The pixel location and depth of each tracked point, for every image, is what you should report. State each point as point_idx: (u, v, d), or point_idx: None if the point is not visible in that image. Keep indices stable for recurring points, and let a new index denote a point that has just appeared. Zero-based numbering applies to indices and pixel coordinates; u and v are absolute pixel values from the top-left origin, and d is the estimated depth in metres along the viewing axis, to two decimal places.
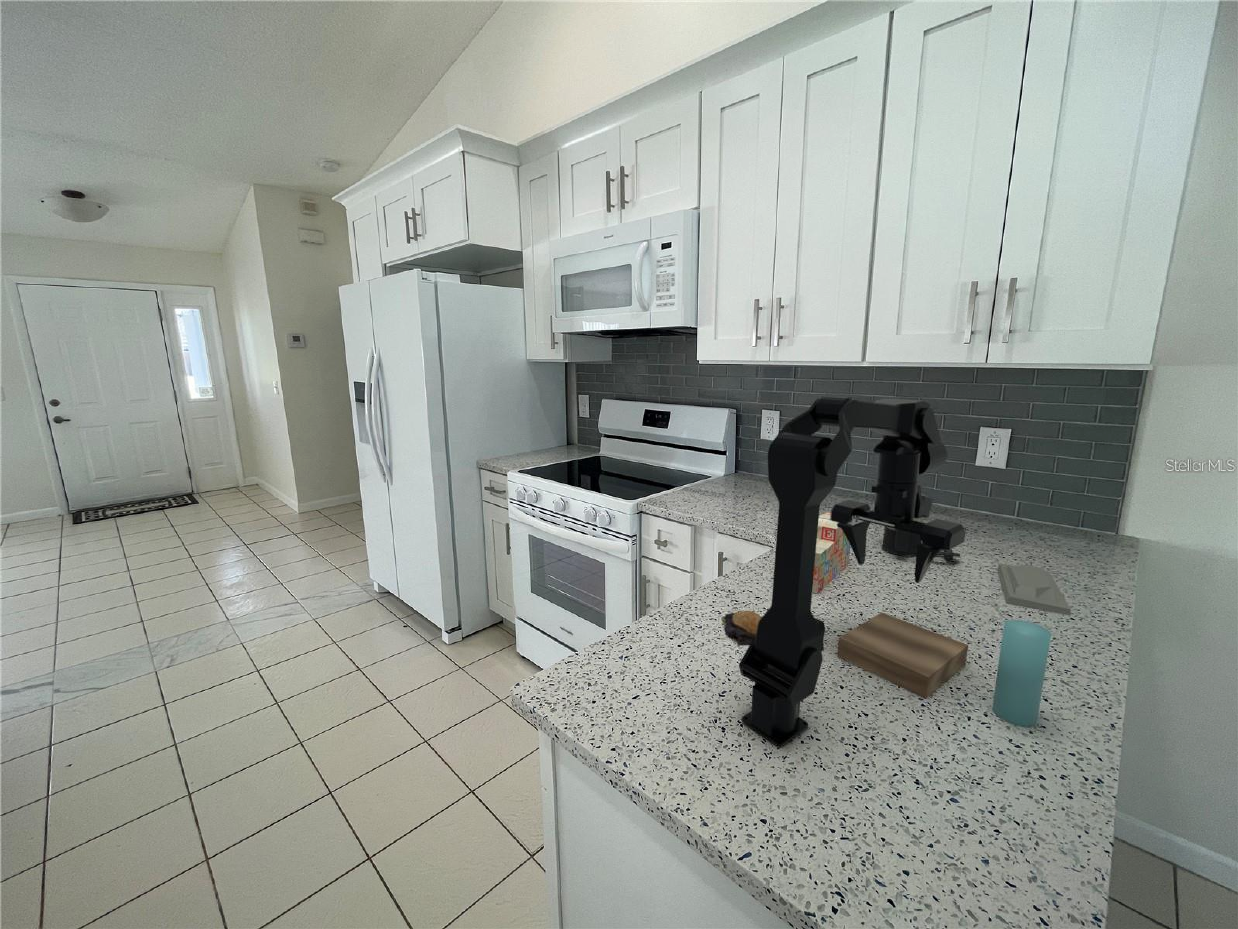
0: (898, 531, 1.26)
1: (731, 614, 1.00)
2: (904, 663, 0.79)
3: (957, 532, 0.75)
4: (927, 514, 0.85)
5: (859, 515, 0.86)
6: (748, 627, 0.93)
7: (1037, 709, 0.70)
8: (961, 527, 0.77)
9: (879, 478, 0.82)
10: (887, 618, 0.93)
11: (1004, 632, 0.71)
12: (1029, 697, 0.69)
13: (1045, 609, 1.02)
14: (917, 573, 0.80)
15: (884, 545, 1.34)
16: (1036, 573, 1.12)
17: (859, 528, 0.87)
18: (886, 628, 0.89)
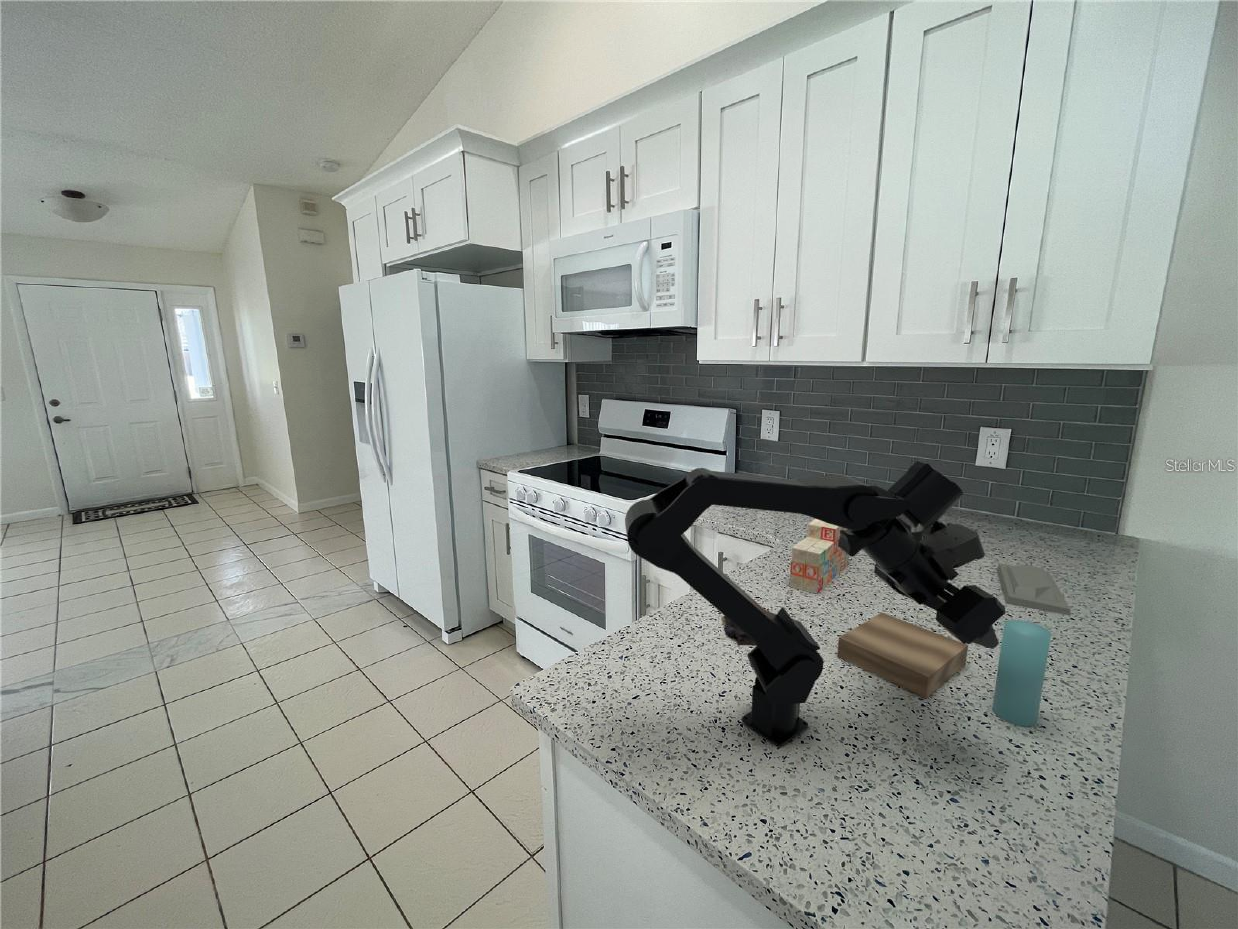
0: None
1: None
2: (904, 663, 0.79)
3: (973, 619, 0.59)
4: (976, 557, 0.65)
5: None
6: None
7: (1037, 709, 0.70)
8: (984, 604, 0.59)
9: None
10: (887, 618, 0.93)
11: (1004, 632, 0.71)
12: (1029, 697, 0.69)
13: (1045, 609, 1.02)
14: None
15: None
16: (1036, 573, 1.12)
17: None
18: (886, 628, 0.89)
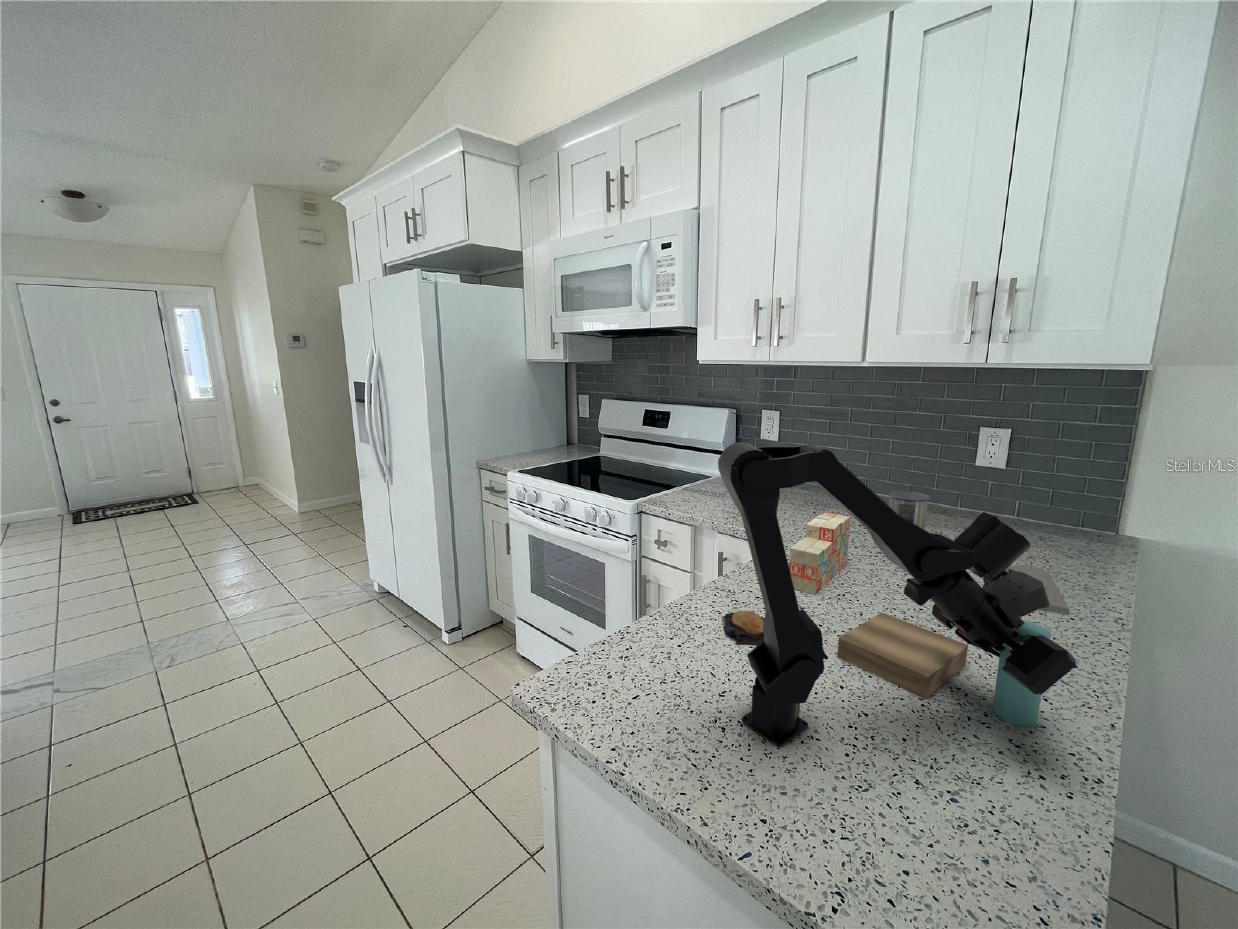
0: None
1: (731, 614, 1.00)
2: (904, 663, 0.79)
3: (1045, 671, 0.61)
4: (1041, 606, 0.67)
5: None
6: (747, 627, 0.93)
7: (1037, 709, 0.70)
8: (1056, 657, 0.61)
9: None
10: (887, 618, 0.93)
11: None
12: (1029, 697, 0.69)
13: (1043, 609, 1.02)
14: None
15: None
16: (1035, 573, 1.12)
17: None
18: (886, 628, 0.89)
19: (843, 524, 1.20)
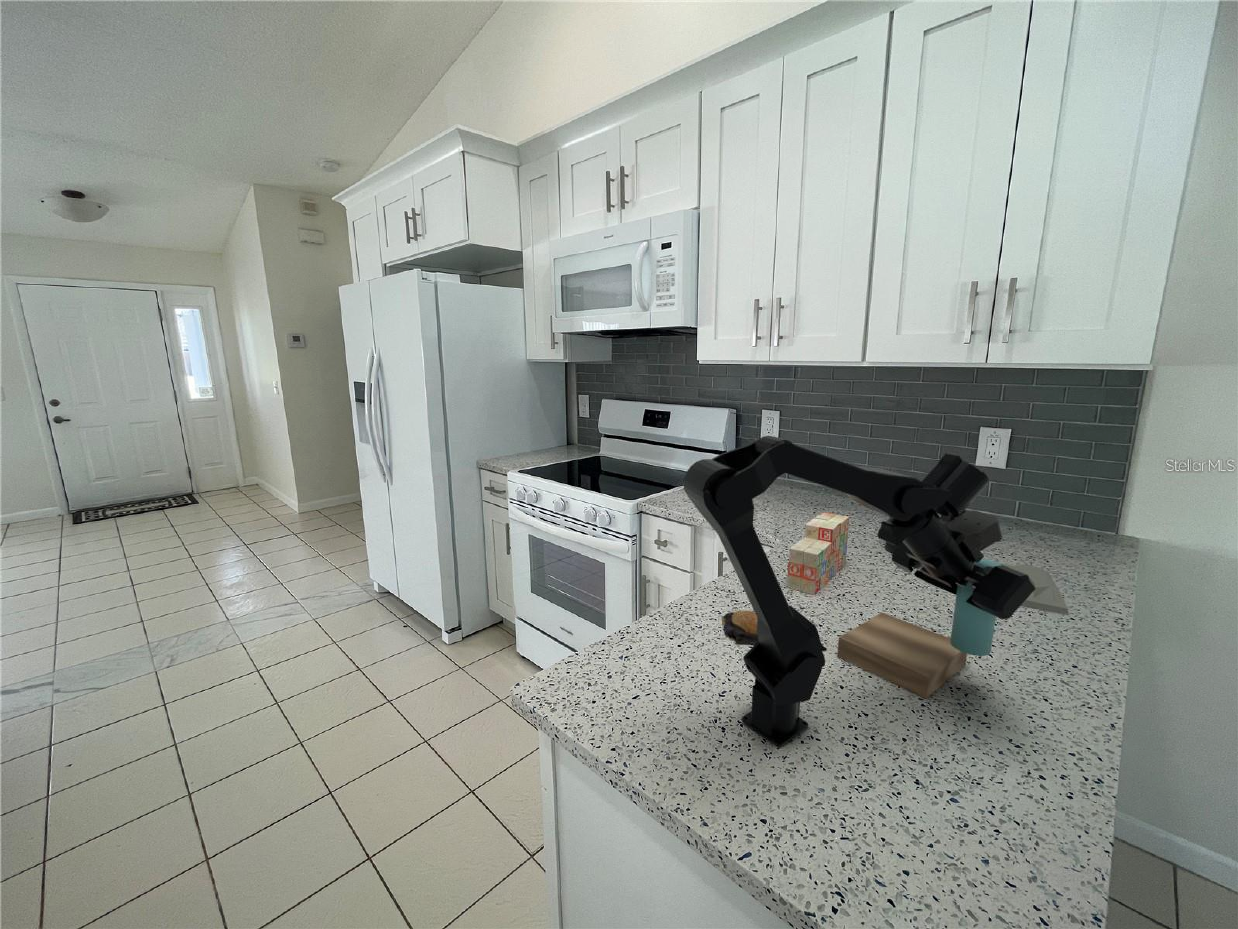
0: None
1: (731, 613, 1.00)
2: (904, 663, 0.79)
3: (1012, 596, 0.65)
4: (996, 539, 0.71)
5: None
6: (746, 627, 0.94)
7: (991, 638, 0.75)
8: (1019, 582, 0.65)
9: None
10: (887, 618, 0.93)
11: None
12: (986, 627, 0.74)
13: (1043, 609, 1.02)
14: None
15: (887, 545, 1.34)
16: (1035, 573, 1.12)
17: None
18: (886, 628, 0.89)
19: (842, 524, 1.20)
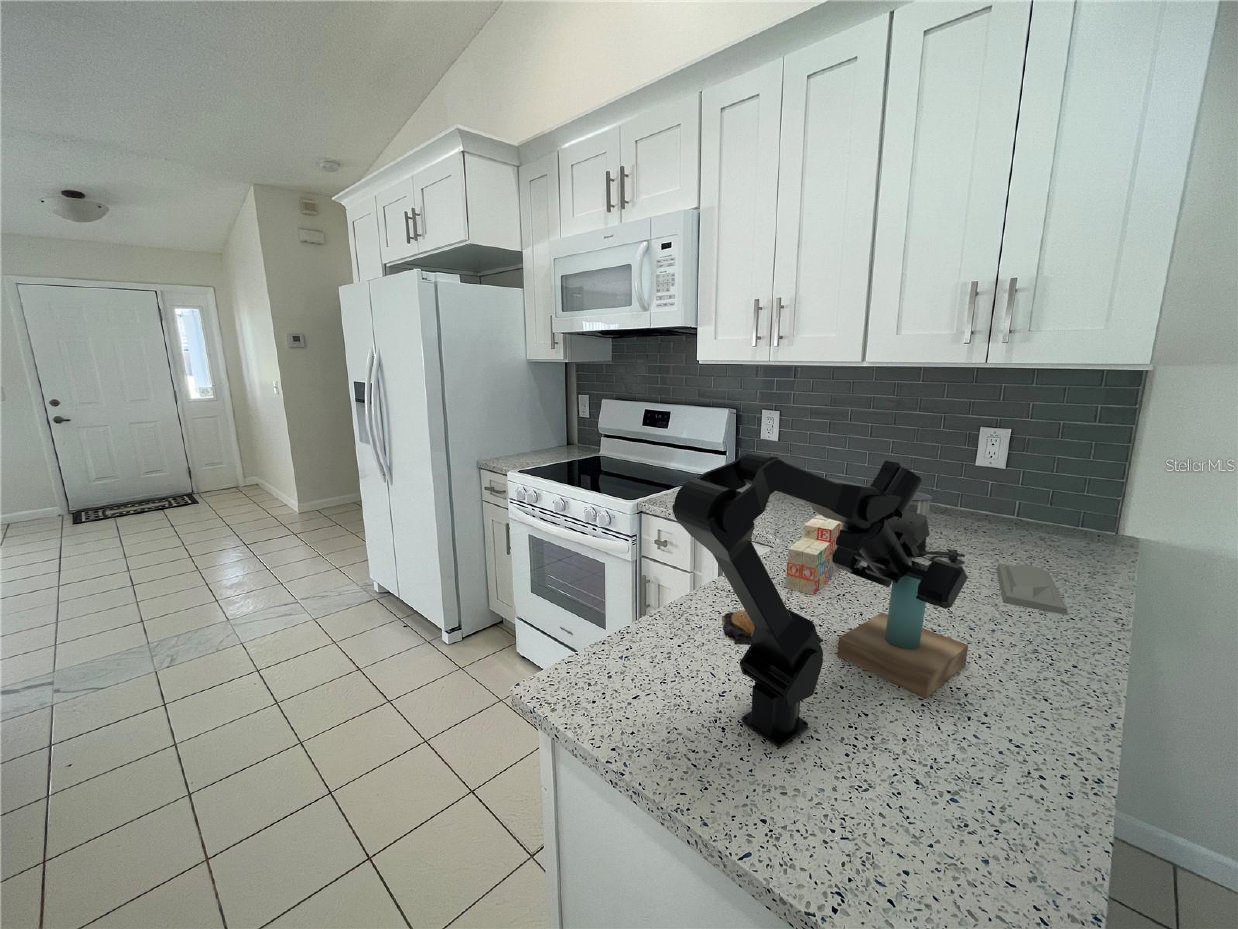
0: None
1: (731, 613, 1.00)
2: (904, 663, 0.79)
3: (953, 587, 0.72)
4: (926, 535, 0.79)
5: (863, 562, 0.83)
6: (746, 626, 0.94)
7: (921, 632, 0.83)
8: (957, 573, 0.72)
9: None
10: (887, 618, 0.93)
11: None
12: (918, 623, 0.82)
13: (1042, 608, 1.02)
14: None
15: None
16: (1035, 573, 1.13)
17: None
18: None
19: (841, 524, 1.20)
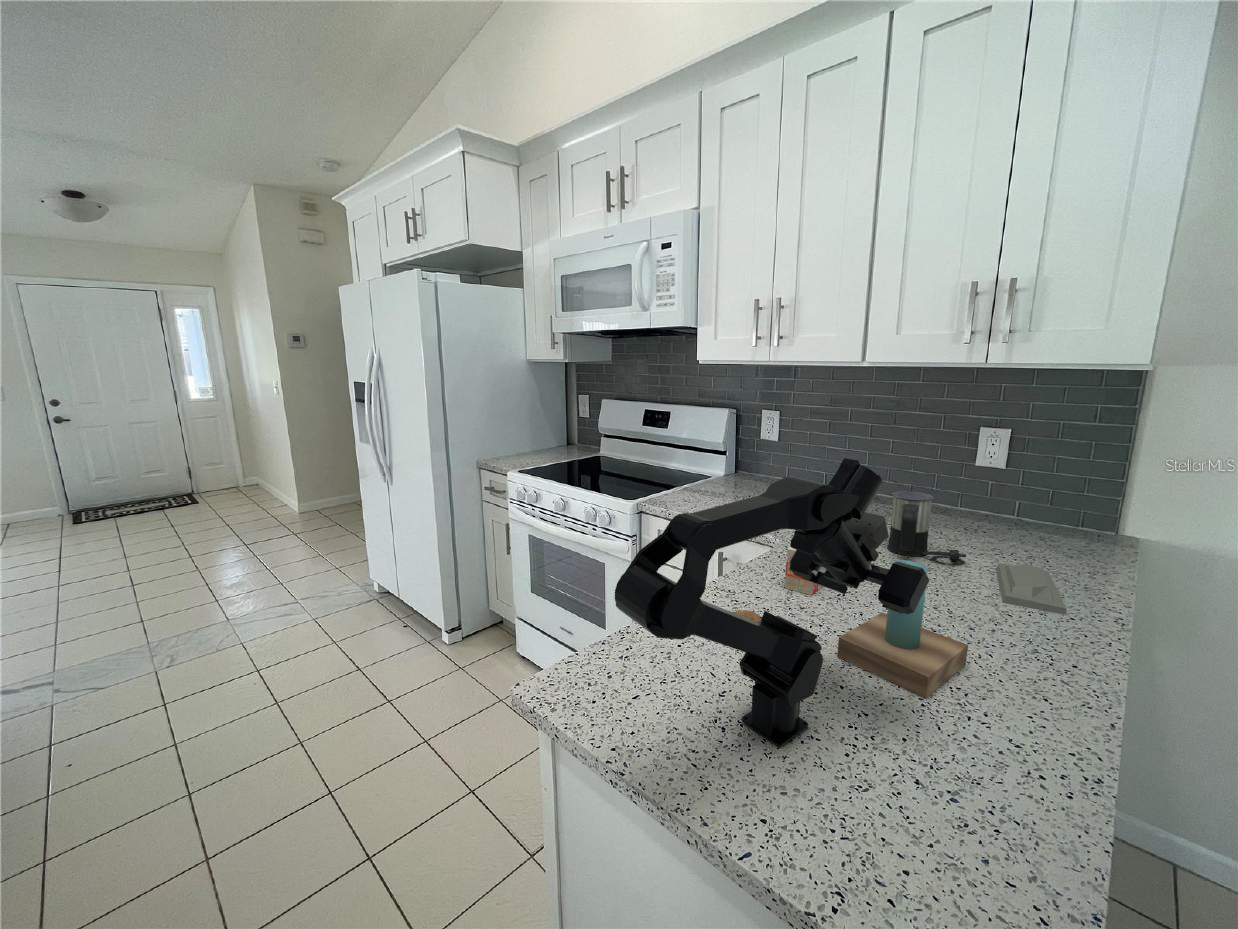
0: (902, 531, 1.26)
1: None
2: (904, 663, 0.79)
3: (915, 591, 0.67)
4: (885, 537, 0.75)
5: (818, 567, 0.79)
6: None
7: (920, 631, 0.83)
8: (919, 576, 0.68)
9: None
10: None
11: None
12: (917, 623, 0.82)
13: (1041, 608, 1.02)
14: (898, 611, 0.75)
15: (890, 545, 1.34)
16: (1034, 573, 1.13)
17: None
18: None
19: None
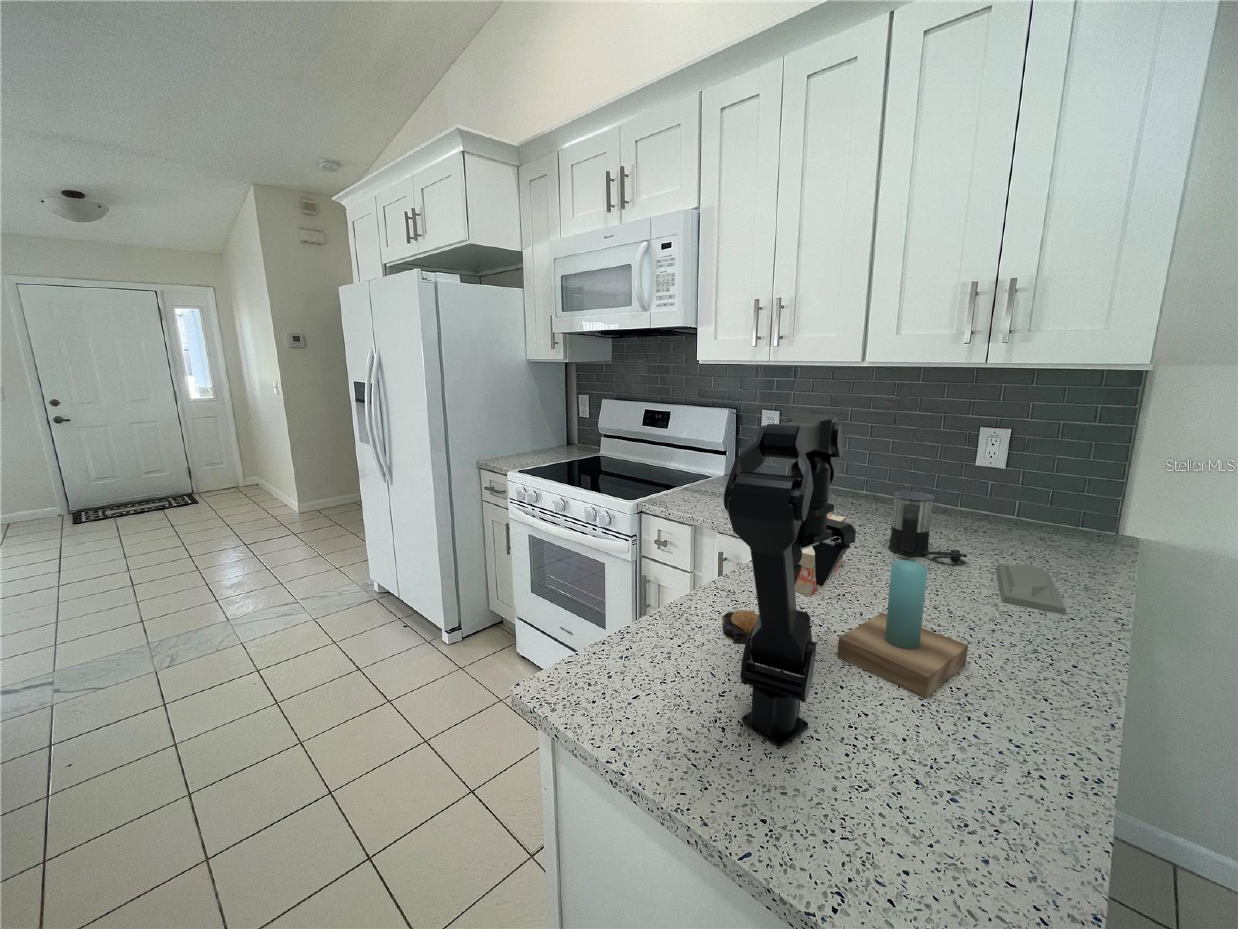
0: (903, 531, 1.26)
1: (731, 613, 1.00)
2: (904, 663, 0.79)
3: None
4: None
5: None
6: (745, 626, 0.94)
7: (920, 631, 0.83)
8: None
9: None
10: None
11: (894, 572, 0.82)
12: (917, 623, 0.82)
13: (1040, 608, 1.02)
14: (826, 576, 0.83)
15: (891, 545, 1.34)
16: (1034, 572, 1.13)
17: None
18: None
19: None
